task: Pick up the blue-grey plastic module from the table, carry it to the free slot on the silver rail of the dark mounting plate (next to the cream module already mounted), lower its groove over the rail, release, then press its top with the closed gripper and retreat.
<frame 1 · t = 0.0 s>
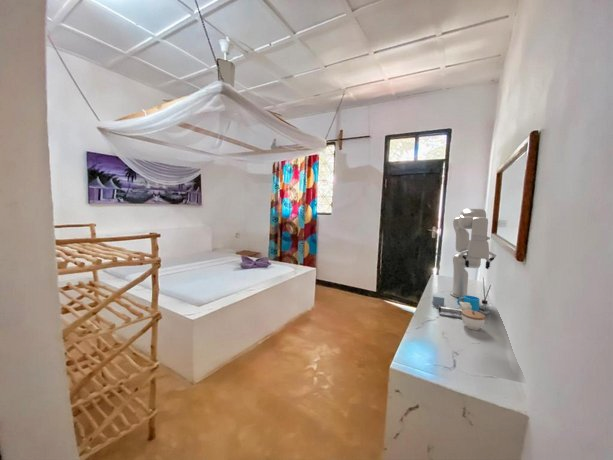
hand: (476, 267, 141), 31 cm above the table, fingers open, 9 cm apart
module: (438, 304, 166), on the table
lidded jar: (472, 327, 133), on the table
rail plate: (454, 313, 151), on the table
mug: (467, 309, 158), on the table
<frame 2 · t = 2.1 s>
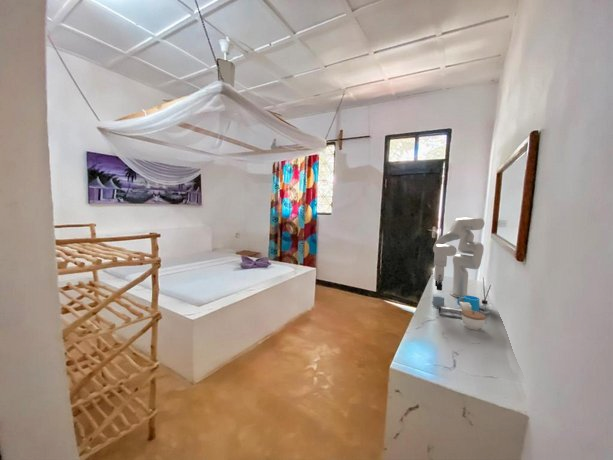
hand: (438, 288, 165), 11 cm above the table, fingers open, 9 cm apart
nothing on the table moved.
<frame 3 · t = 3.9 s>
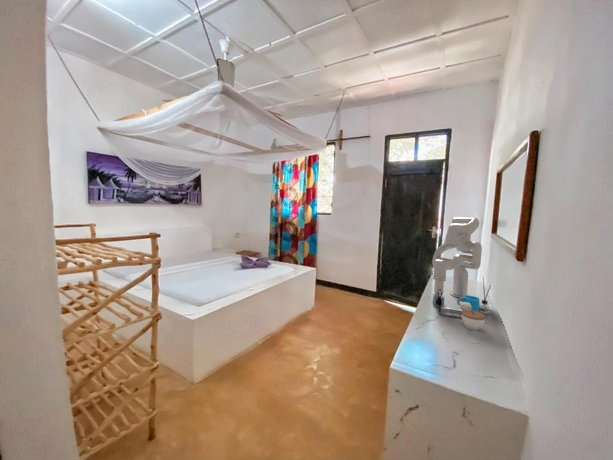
hand: (438, 302, 166), 1 cm above the table, fingers closed on module, 6 cm apart
module: (438, 304, 166), on the table, touching gripper
everything else where it was.
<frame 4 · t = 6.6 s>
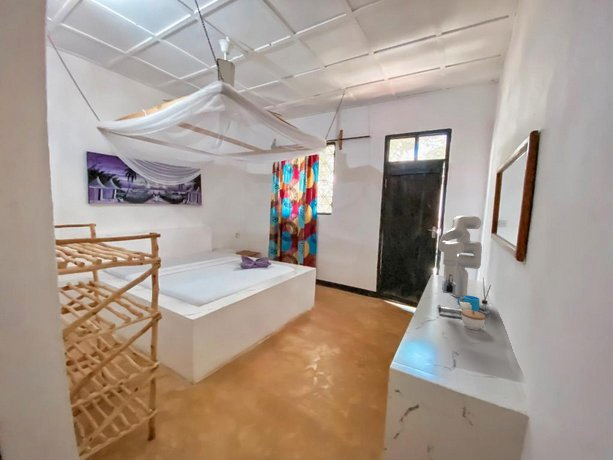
hand: (448, 290, 152), 14 cm above the table, fingers closed on module, 6 cm apart
module: (448, 291, 152), point 13 cm above the table, touching gripper
everything else where it was.
when the fingers open (3 cm above the table, at t = 9.5 s): module stays where it is, resting on rail plate.
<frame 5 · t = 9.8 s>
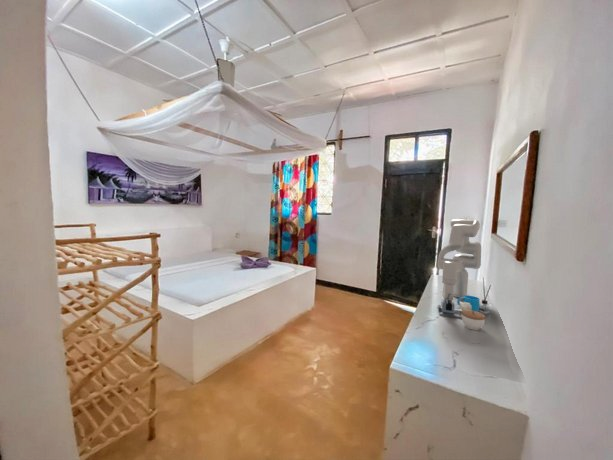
hand: (447, 307, 153), 3 cm above the table, fingers open, 9 cm apart
module: (447, 310, 153), point 1 cm above the table, touching rail plate
everything else where it was.
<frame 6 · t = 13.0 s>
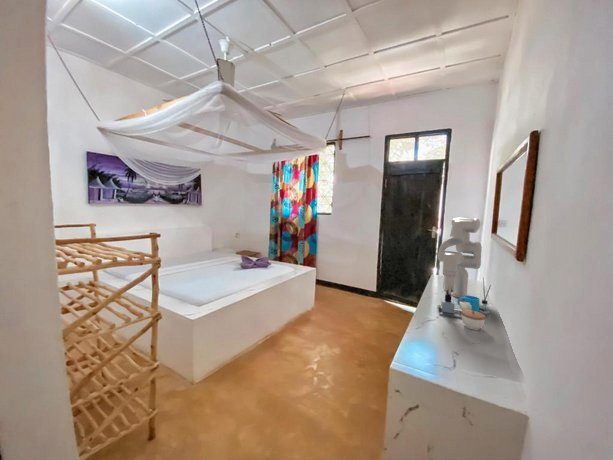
hand: (447, 301, 152), 7 cm above the table, fingers closed
module: (447, 310, 153), point 1 cm above the table, touching gripper, rail plate
everything else where it was.
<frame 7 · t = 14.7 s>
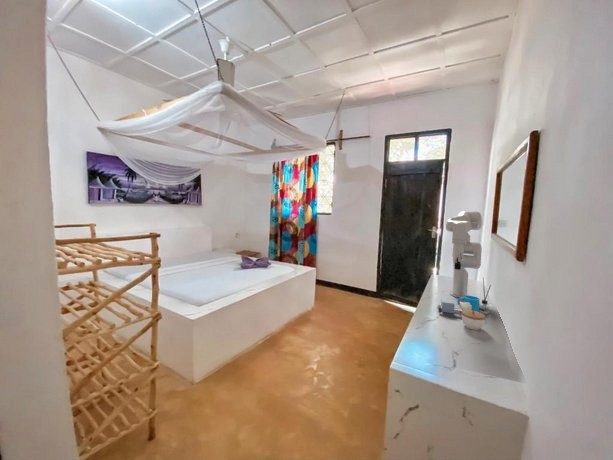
hand: (457, 269, 156), 27 cm above the table, fingers closed
module: (447, 310, 153), point 1 cm above the table, touching rail plate
everything else where it was.
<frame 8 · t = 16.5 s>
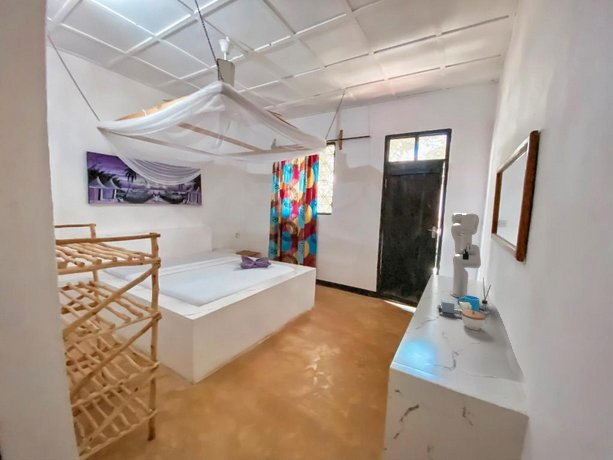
hand: (465, 259, 161), 32 cm above the table, fingers closed
nothing on the table moved.
at the end: module 0.1 cm from the target spot on the rail plate, point 1.2 cm above the rail plate's base; module tilted 0°; the gripper is holding nothing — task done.
